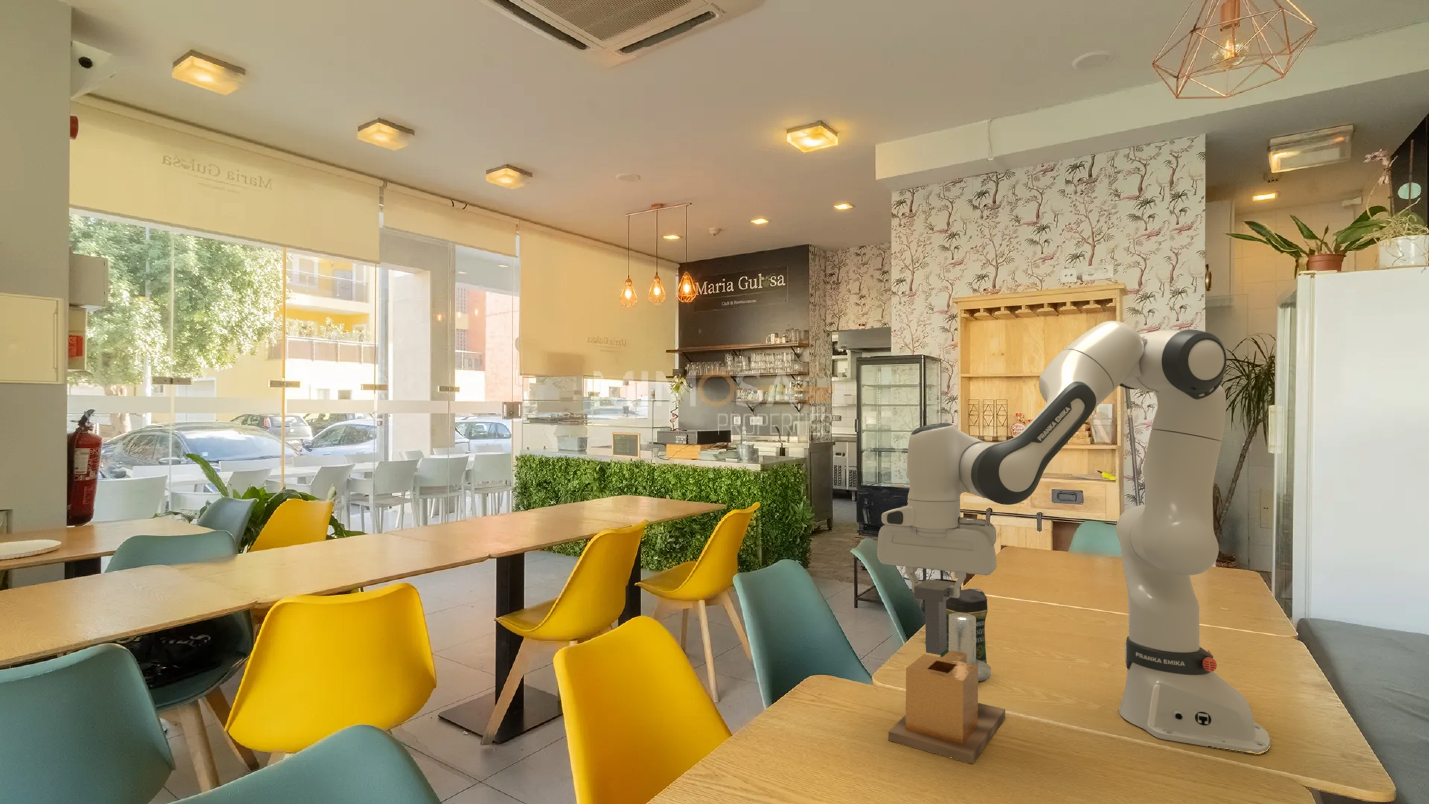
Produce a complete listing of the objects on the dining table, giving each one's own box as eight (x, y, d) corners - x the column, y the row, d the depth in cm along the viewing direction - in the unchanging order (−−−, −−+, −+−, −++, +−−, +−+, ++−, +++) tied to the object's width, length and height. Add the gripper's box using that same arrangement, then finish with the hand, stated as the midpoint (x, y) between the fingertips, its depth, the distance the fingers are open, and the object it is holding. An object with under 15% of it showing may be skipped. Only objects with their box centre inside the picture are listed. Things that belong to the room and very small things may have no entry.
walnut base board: (930, 699, 138) (930, 691, 138) (1005, 717, 130) (1005, 709, 130) (888, 740, 120) (888, 731, 120) (972, 764, 112) (972, 754, 112)
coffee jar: (961, 687, 144) (962, 596, 144) (933, 675, 151) (933, 588, 151) (994, 680, 148) (994, 591, 149) (965, 668, 155) (965, 583, 156)
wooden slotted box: (943, 690, 138) (943, 606, 139) (996, 703, 133) (996, 615, 133) (904, 729, 121) (905, 633, 121) (964, 745, 115) (964, 644, 115)
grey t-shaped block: (929, 642, 127) (927, 578, 128) (957, 647, 124) (955, 582, 125) (915, 653, 121) (914, 586, 122) (944, 659, 118) (943, 590, 119)
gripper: (1000, 517, 120) (1002, 598, 120) (886, 510, 132) (887, 584, 132) (990, 522, 115) (992, 607, 115) (872, 513, 127) (874, 590, 126)
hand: (935, 594), depth 123 cm, fingers closed on grey t-shaped block, 5 cm apart
